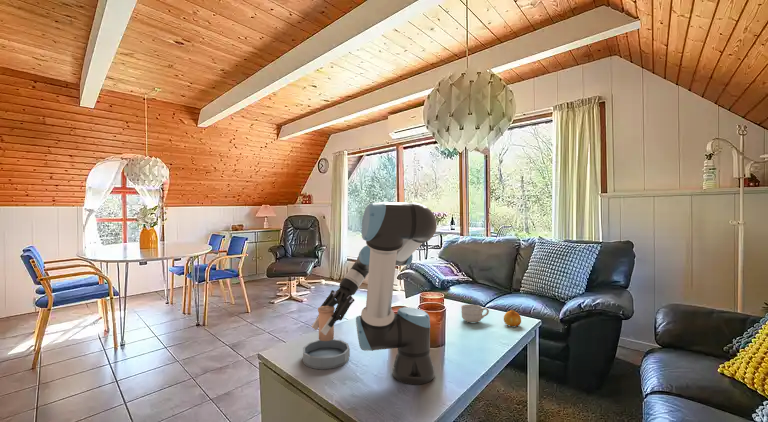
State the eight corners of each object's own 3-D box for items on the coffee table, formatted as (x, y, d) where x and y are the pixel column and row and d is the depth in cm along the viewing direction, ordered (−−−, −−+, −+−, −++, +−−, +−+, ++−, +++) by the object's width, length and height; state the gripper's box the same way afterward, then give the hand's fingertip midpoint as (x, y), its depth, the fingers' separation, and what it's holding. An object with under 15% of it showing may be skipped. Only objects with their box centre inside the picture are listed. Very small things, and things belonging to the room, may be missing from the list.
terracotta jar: (337, 338, 138) (337, 308, 138) (323, 342, 133) (323, 312, 133) (328, 333, 143) (328, 304, 142) (314, 337, 138) (314, 308, 138)
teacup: (460, 323, 178) (460, 308, 178) (462, 317, 188) (462, 302, 188) (488, 326, 174) (488, 311, 174) (488, 319, 184) (489, 305, 184)
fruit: (515, 325, 169) (518, 309, 172) (499, 323, 174) (502, 307, 178) (522, 330, 174) (524, 315, 177) (506, 328, 179) (508, 312, 183)
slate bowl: (358, 359, 137) (358, 348, 137) (319, 374, 125) (319, 362, 125) (331, 345, 150) (331, 335, 150) (294, 358, 138) (294, 347, 138)
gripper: (371, 292, 141) (338, 343, 130) (343, 283, 155) (311, 329, 144) (361, 281, 137) (326, 332, 127) (333, 273, 151) (299, 319, 140)
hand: (318, 330), depth 135 cm, fingers closed on terracotta jar, 6 cm apart
